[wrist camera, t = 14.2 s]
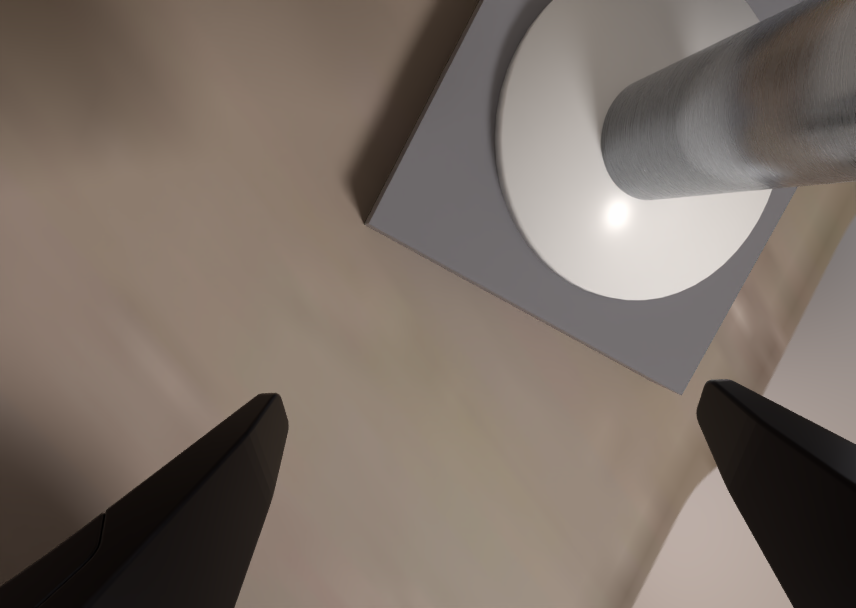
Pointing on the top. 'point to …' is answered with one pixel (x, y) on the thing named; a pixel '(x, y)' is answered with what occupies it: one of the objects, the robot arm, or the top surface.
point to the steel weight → (743, 111)
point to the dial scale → (576, 180)
